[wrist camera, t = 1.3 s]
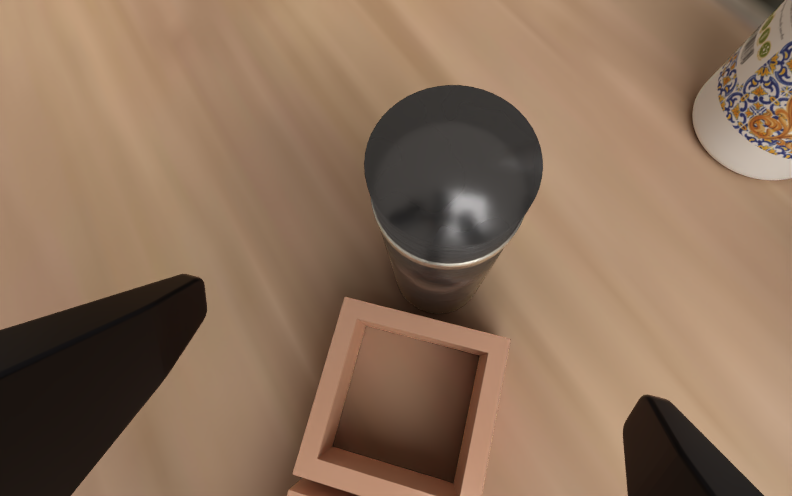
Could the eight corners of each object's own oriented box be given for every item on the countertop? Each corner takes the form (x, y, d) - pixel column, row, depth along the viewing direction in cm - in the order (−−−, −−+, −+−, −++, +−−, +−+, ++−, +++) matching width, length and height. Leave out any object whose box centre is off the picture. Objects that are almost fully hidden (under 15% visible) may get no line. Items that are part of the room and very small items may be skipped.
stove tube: (471, 324, 21) (527, 267, 10) (384, 302, 22) (340, 224, 10) (489, 240, 22) (558, 100, 11) (406, 222, 23) (388, 70, 11)
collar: (467, 508, 19) (475, 532, 16) (311, 459, 20) (292, 474, 17) (499, 343, 21) (510, 338, 18) (355, 306, 22) (344, 296, 19)
